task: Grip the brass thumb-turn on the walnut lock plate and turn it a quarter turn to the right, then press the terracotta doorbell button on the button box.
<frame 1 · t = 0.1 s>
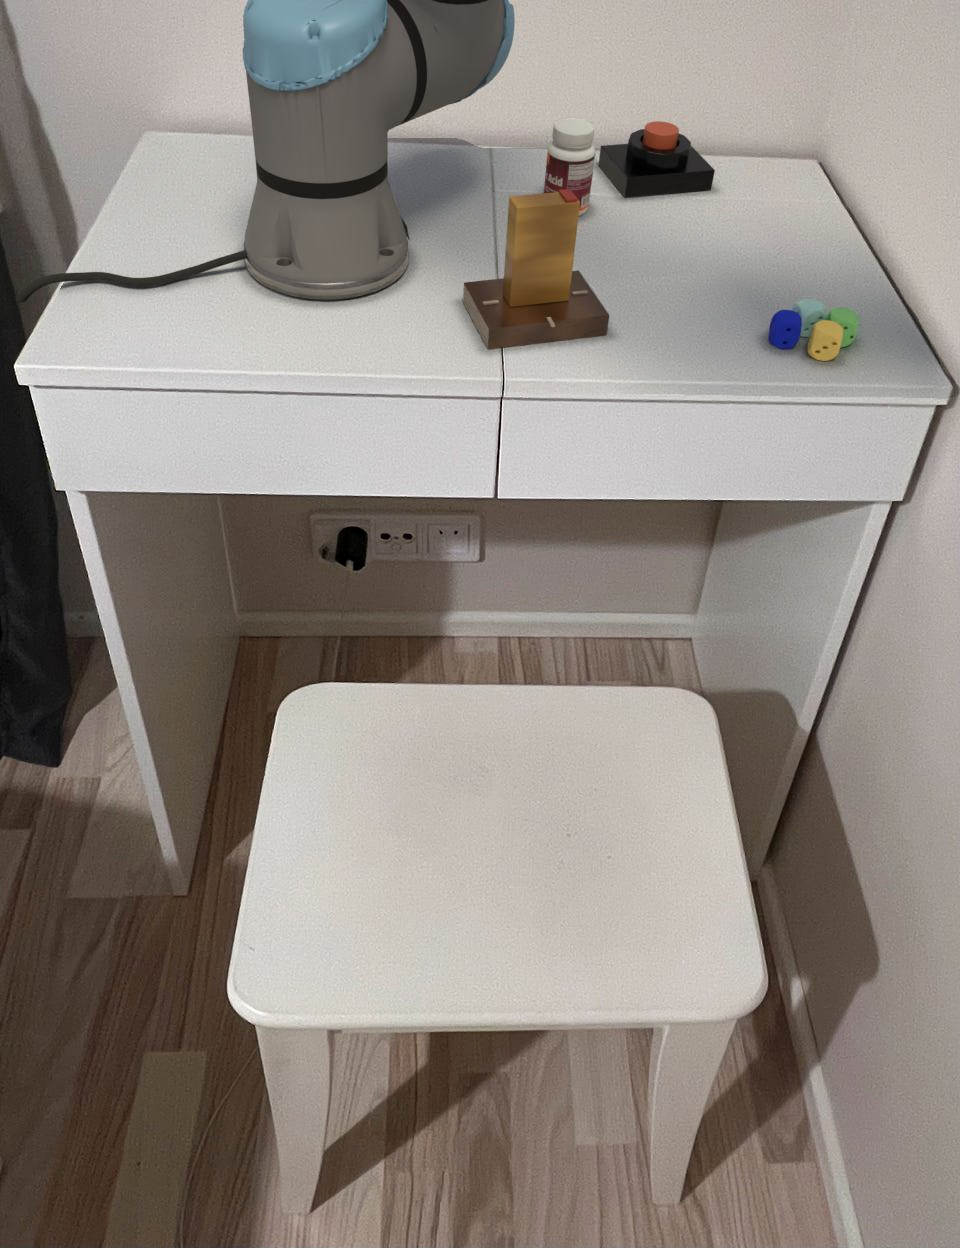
thumb turn: (540, 248, 95), point 7 cm above the table, hinge at 0.0°
lock plate: (533, 318, 100), on the table
dice: (797, 310, 100), point 1 cm above the table
button box: (653, 177, 121), on the table
pill bottle: (565, 209, 116), on the table
bell button: (660, 136, 118), point 4 cm above the table, slide at 0.1 cm
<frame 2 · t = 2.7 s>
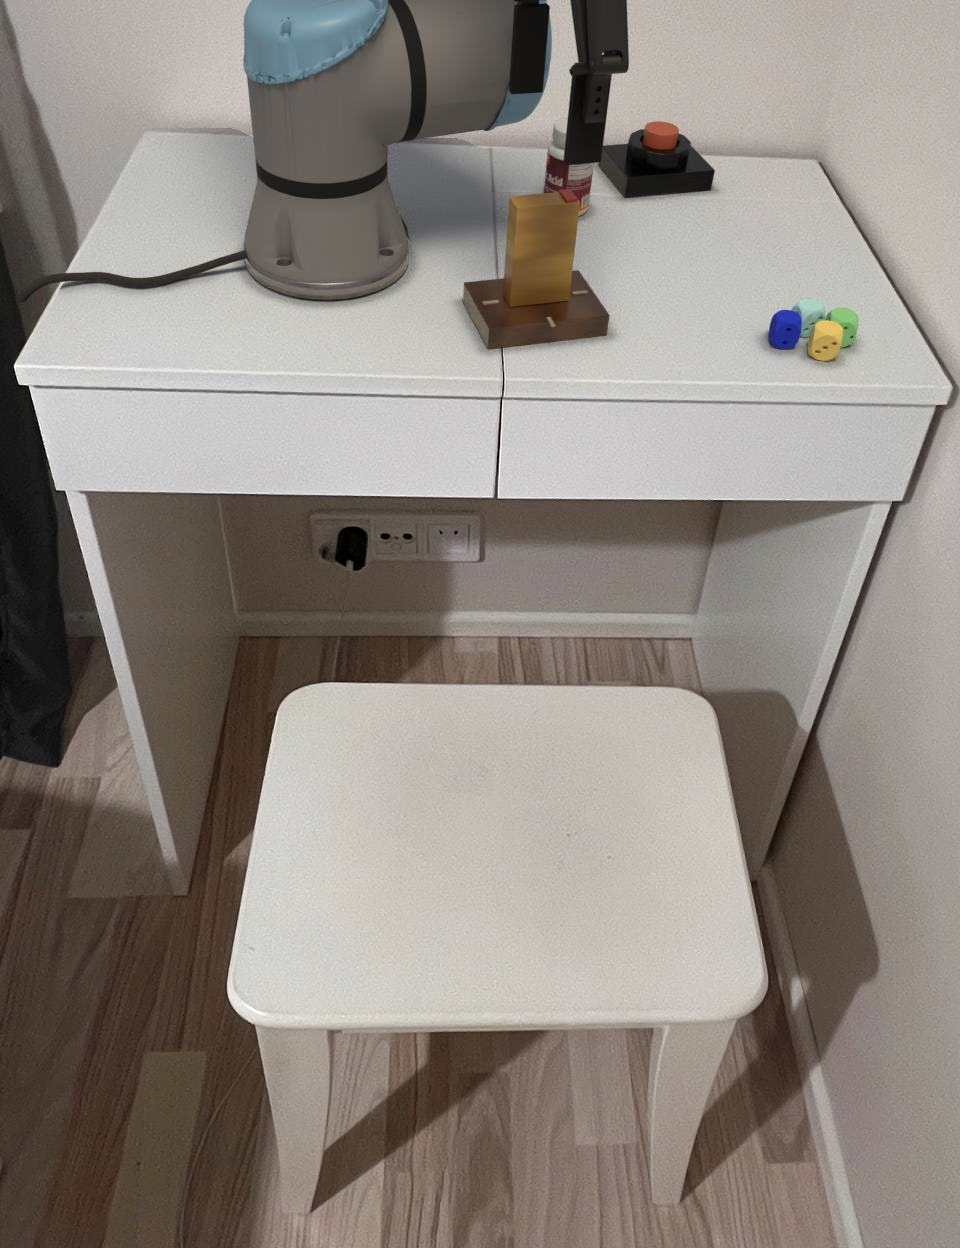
hand: (552, 125, 88), 17 cm above the table, tool pointing down, fingers open, 13 cm apart
nothing on the table moved.
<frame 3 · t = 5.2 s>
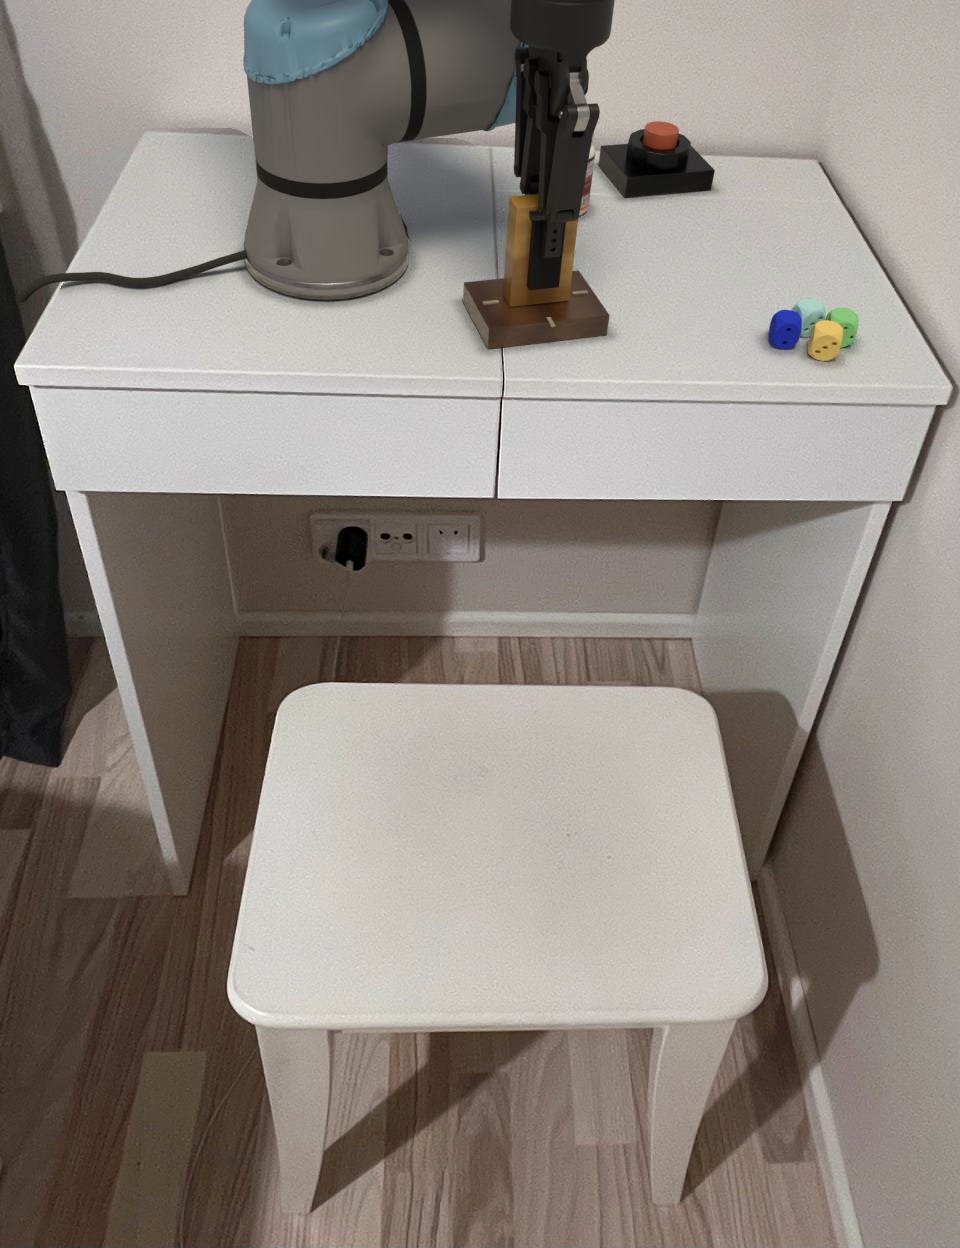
hand: (537, 277, 97), 4 cm above the table, tool pointing down, fingers closed on thumb turn, 2 cm apart
thumb turn: (540, 248, 95), point 7 cm above the table, hinge at -0.2°, touching gripper
everything else where it was.
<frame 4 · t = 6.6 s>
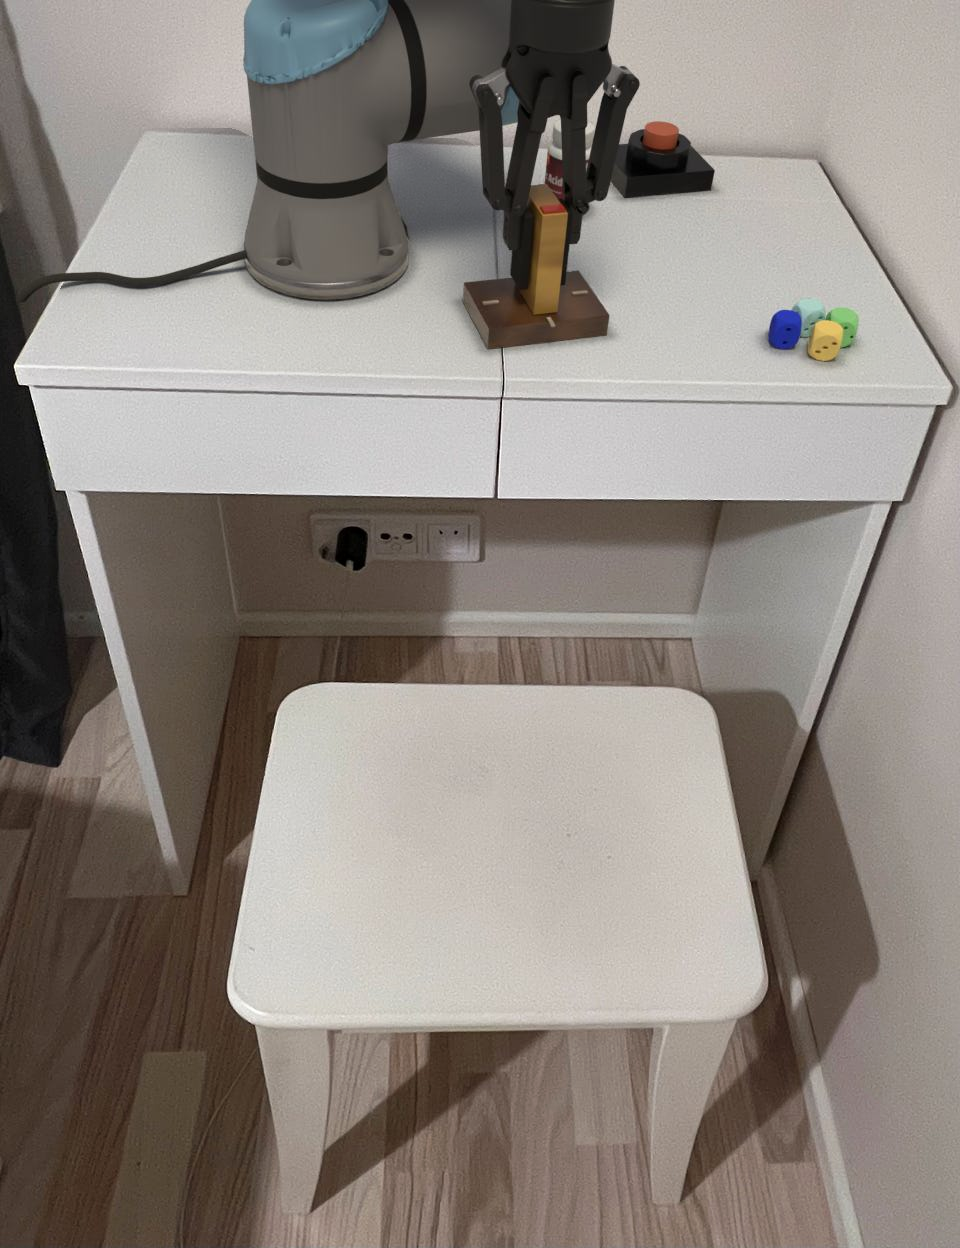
hand: (537, 279, 97), 4 cm above the table, tool pointing down, fingers open, 3 cm apart
thumb turn: (540, 248, 95), point 7 cm above the table, hinge at -89.9°
everything else where it was.
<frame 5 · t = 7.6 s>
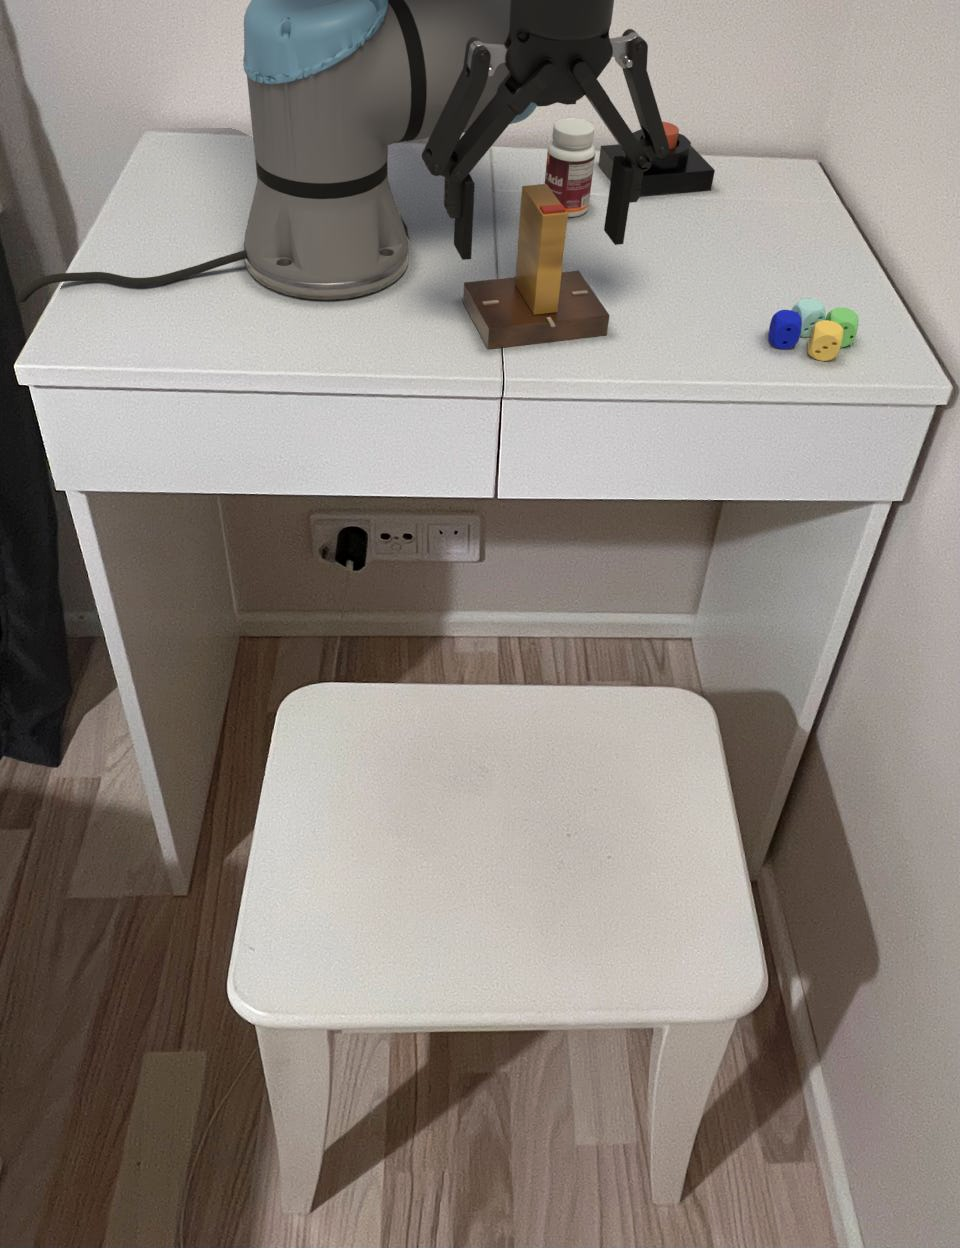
hand: (539, 244, 95), 7 cm above the table, tool pointing down, fingers open, 13 cm apart
nothing on the table moved.
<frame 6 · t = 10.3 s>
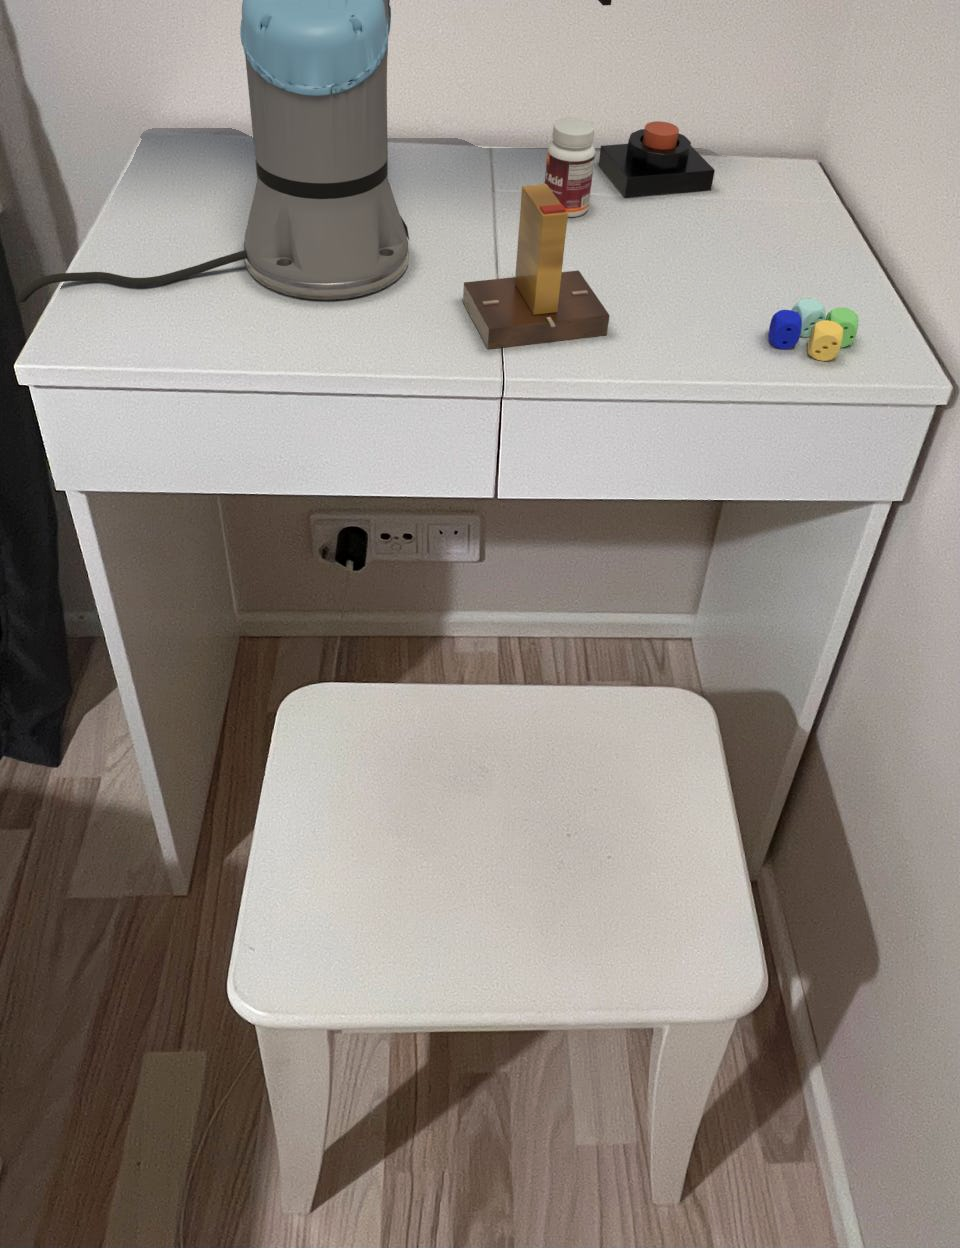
nothing on the table moved.
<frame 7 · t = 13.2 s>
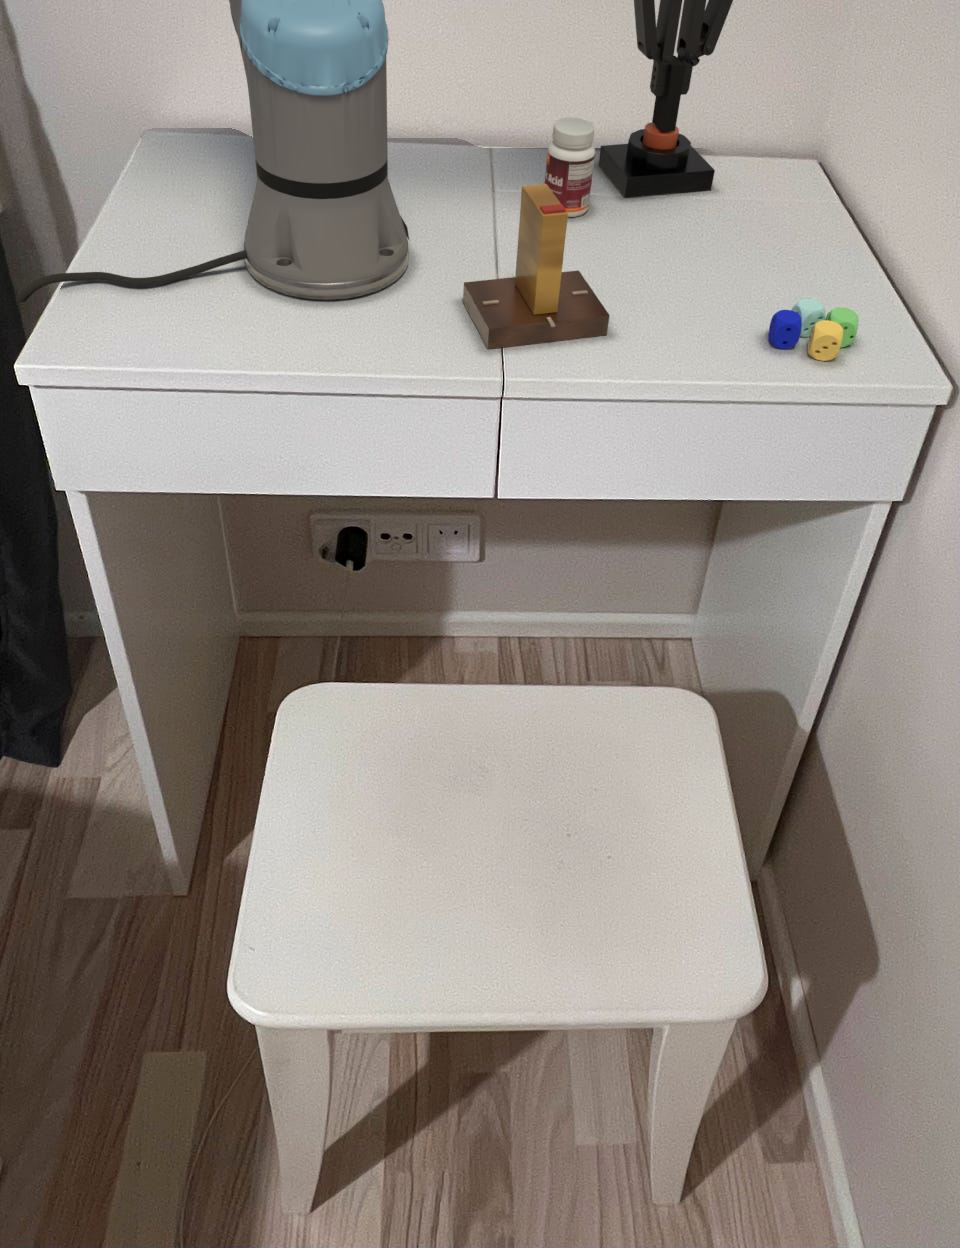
hand: (663, 125, 117), 6 cm above the table, tool pointing down, fingers closed
bell button: (660, 136, 118), point 4 cm above the table, slide at 0.0 cm, touching gripper
everything else where it was.
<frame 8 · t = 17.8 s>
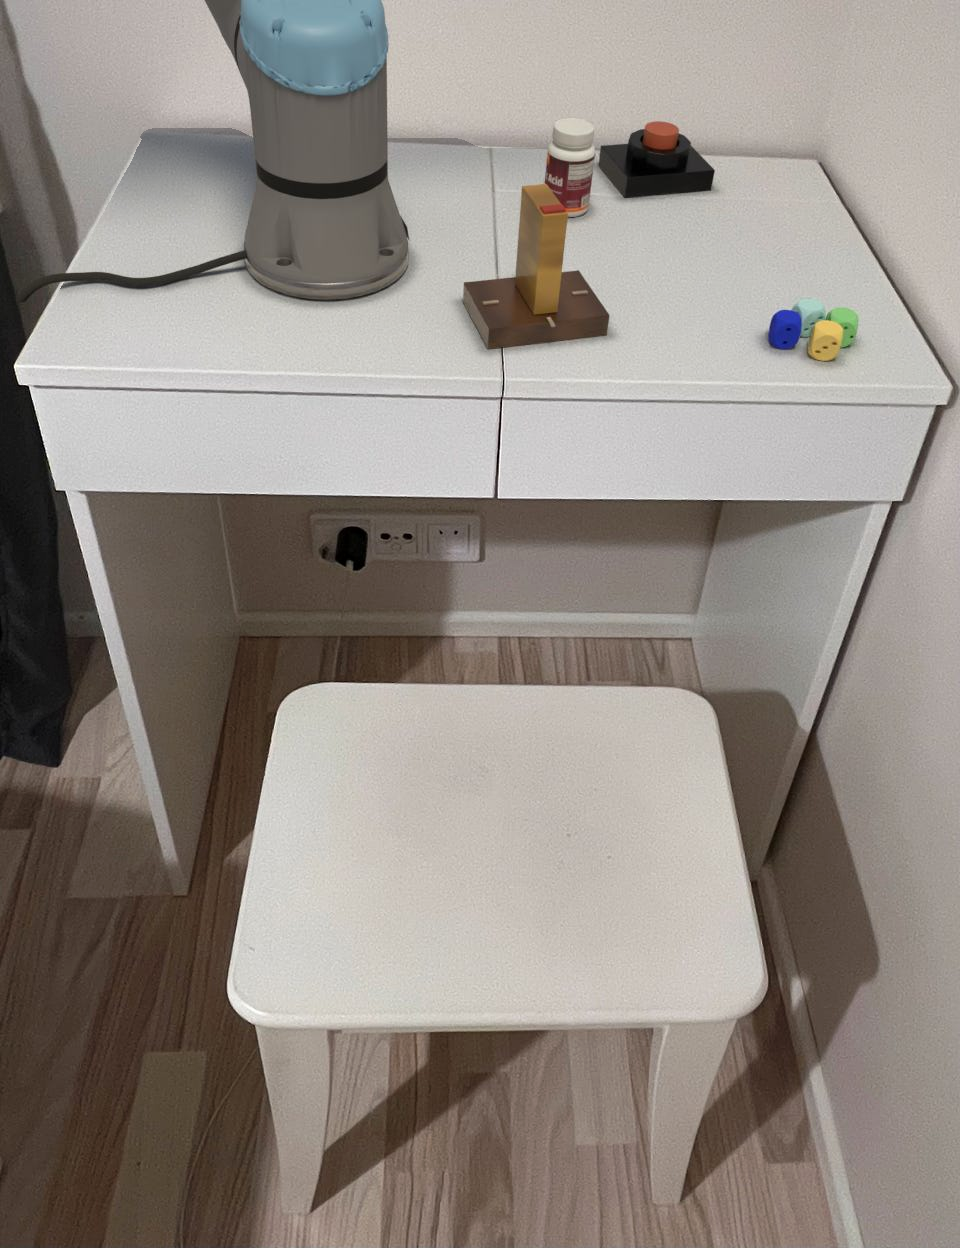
bell button: (660, 136, 118), point 4 cm above the table, slide at 0.1 cm
everything else where it was.
at the end: thumb turn at -90° (first picture: +0°); bell button pushed in 1.0 cm at the most during the clip, back to where it started at the end; bell button slide at 0.1 cm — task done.
